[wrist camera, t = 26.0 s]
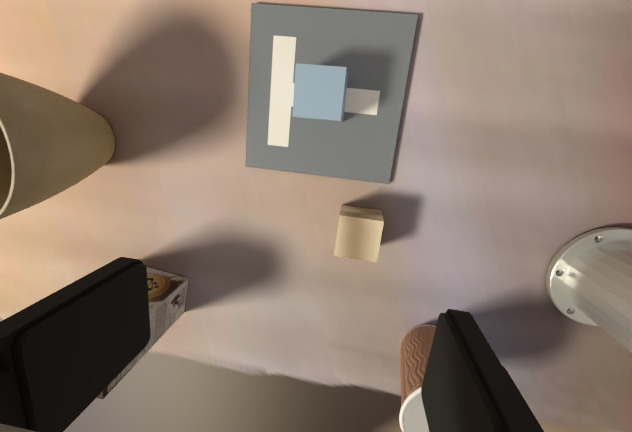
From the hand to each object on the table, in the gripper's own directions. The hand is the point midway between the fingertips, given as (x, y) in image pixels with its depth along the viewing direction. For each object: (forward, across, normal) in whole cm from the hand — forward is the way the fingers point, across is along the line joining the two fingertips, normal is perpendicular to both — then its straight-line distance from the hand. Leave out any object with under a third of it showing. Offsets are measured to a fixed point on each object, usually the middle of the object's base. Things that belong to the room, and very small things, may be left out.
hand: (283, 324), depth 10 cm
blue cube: (+30, +3, -9) cm, 31 cm away
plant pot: (+31, +34, -1) cm, 46 cm away
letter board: (+30, +3, -9) cm, 32 cm away
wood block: (+30, -3, +6) cm, 31 cm away
